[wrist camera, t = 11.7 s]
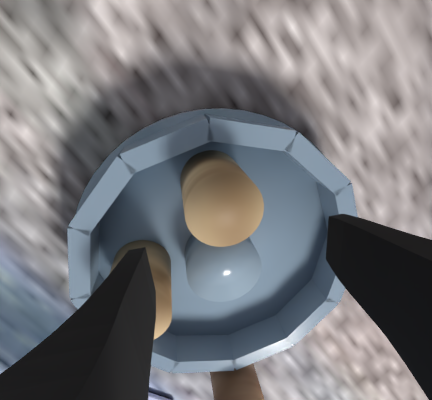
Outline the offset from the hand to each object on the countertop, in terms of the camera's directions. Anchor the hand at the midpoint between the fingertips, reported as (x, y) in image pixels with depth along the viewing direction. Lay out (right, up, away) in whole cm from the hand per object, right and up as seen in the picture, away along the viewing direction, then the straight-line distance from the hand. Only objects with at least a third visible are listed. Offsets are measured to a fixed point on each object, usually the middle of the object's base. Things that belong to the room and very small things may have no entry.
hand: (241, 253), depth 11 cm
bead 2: (-1, +3, +8) cm, 8 cm away
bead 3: (0, -13, +16) cm, 20 cm away
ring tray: (-1, -1, +11) cm, 11 cm away
